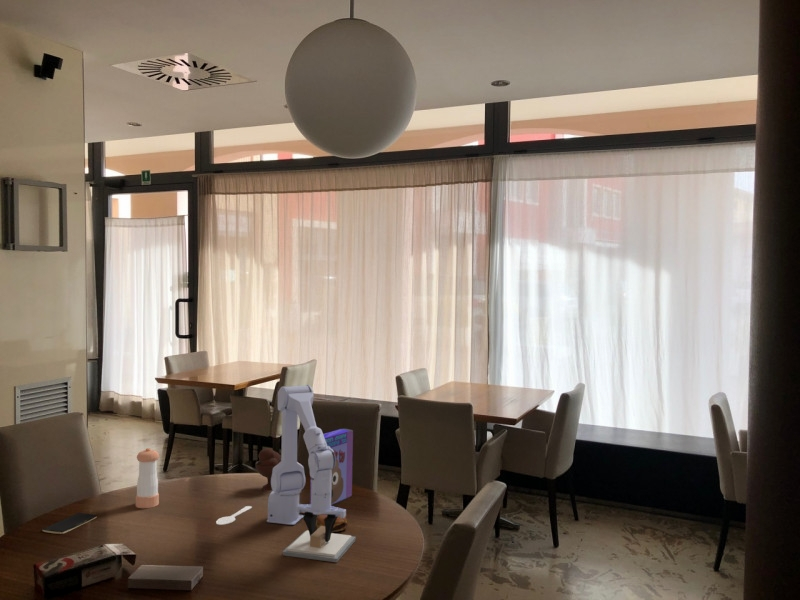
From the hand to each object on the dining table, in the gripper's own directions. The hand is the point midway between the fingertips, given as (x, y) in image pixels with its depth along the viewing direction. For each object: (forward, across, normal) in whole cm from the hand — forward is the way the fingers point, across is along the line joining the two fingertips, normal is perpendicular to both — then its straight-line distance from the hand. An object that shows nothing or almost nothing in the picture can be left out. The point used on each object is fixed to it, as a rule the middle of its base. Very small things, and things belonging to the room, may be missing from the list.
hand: (320, 539), depth 178 cm
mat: (+2, 0, 0) cm, 2 cm away
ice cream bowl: (+2, -38, +45) cm, 59 cm away
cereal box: (+2, -11, +38) cm, 40 cm away
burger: (+3, -2, +15) cm, 15 cm away
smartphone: (+3, -80, -6) cm, 80 cm away
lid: (+1, 0, 0) cm, 1 cm away
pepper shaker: (+2, -69, +16) cm, 71 cm away
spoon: (+3, -36, +16) cm, 39 cm away
